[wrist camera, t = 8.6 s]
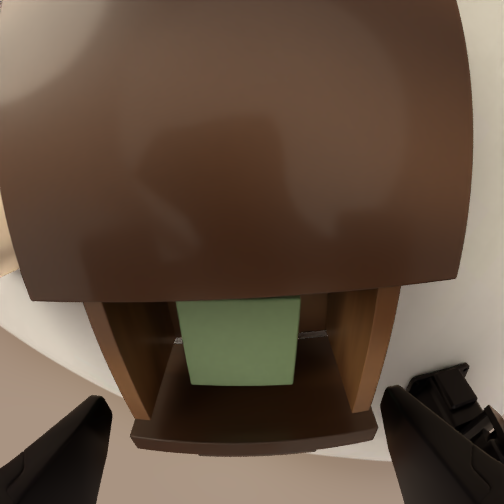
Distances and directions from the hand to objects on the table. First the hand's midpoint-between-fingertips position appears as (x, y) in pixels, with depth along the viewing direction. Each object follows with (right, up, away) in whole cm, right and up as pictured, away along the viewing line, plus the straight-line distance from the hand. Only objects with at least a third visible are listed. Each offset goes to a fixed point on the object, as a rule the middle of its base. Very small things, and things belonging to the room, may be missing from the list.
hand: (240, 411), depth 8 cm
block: (0, +3, +7) cm, 8 cm away
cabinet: (-1, +14, +5) cm, 15 cm away
